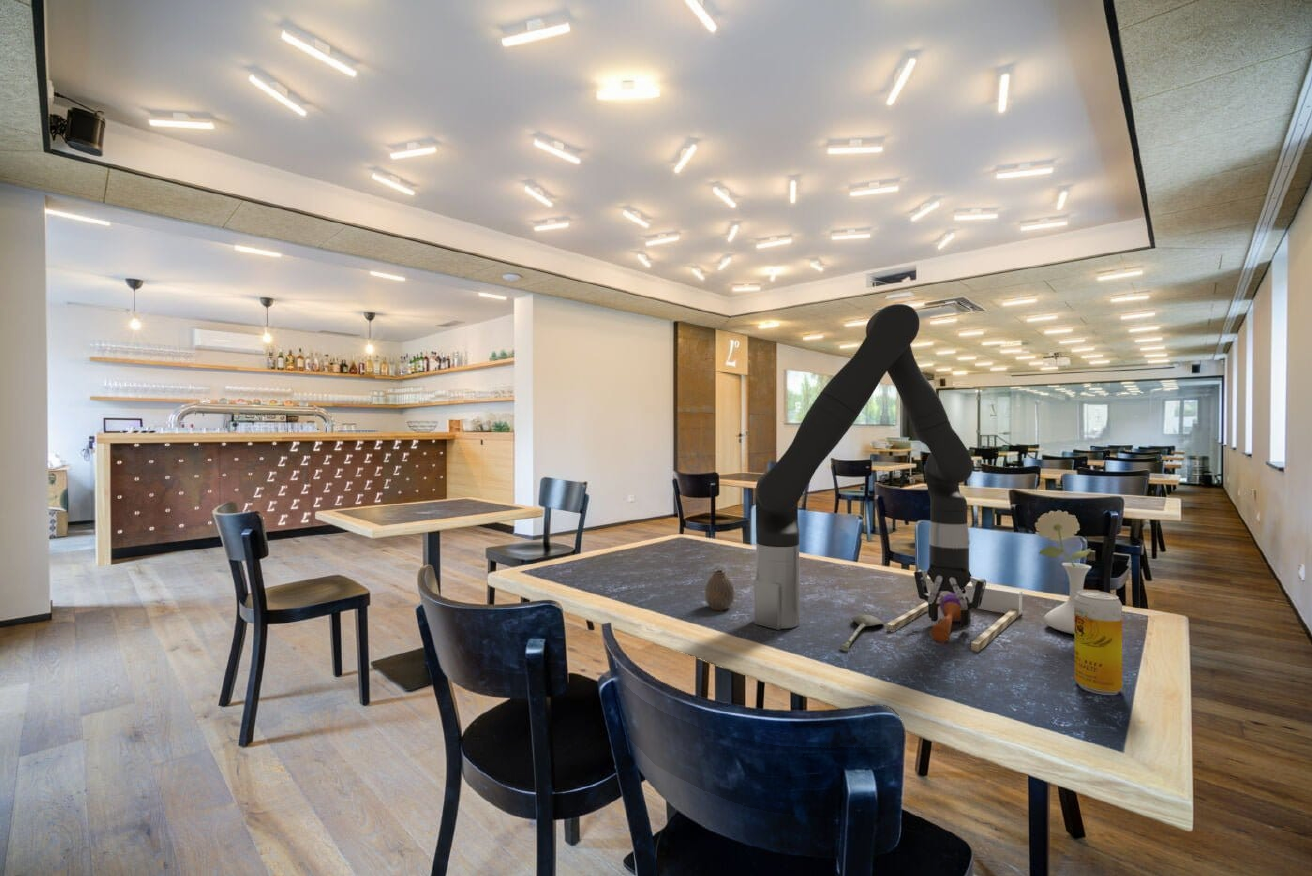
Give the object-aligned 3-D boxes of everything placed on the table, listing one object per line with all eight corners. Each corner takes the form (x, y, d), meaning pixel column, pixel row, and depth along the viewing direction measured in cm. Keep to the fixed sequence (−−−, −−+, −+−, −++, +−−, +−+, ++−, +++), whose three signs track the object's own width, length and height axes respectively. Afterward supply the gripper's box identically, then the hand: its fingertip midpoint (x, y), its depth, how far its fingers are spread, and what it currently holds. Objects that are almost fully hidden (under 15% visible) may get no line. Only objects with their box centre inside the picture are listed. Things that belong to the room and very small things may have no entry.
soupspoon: (887, 628, 125) (856, 624, 129) (887, 612, 125) (856, 609, 129) (861, 656, 107) (826, 650, 111) (860, 637, 107) (825, 632, 111)
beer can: (1065, 681, 95) (1064, 590, 95) (1099, 679, 96) (1099, 589, 96) (1096, 697, 89) (1096, 600, 89) (1132, 695, 89) (1132, 599, 90)
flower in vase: (1114, 631, 120) (1113, 511, 120) (1108, 645, 111) (1108, 516, 112) (1040, 618, 129) (1039, 506, 129) (1029, 630, 120) (1029, 510, 120)
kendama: (920, 618, 115) (940, 590, 131) (927, 648, 115) (946, 616, 131) (952, 618, 112) (969, 589, 128) (959, 649, 112) (975, 616, 128)
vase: (738, 606, 138) (738, 569, 138) (726, 613, 132) (726, 575, 132) (713, 602, 142) (713, 566, 142) (699, 609, 136) (699, 571, 136)
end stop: (1018, 615, 130) (1018, 593, 130) (938, 601, 142) (938, 580, 142) (1022, 612, 132) (1022, 591, 132) (942, 598, 144) (942, 578, 144)
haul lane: (978, 652, 108) (978, 644, 108) (886, 630, 120) (886, 623, 120) (1018, 615, 130) (1018, 609, 130) (938, 601, 142) (938, 594, 142)
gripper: (907, 541, 124) (907, 620, 124) (981, 550, 114) (981, 636, 114) (920, 537, 129) (920, 612, 129) (991, 545, 120) (992, 627, 119)
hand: (949, 623), depth 122 cm, fingers closed on kendama, 5 cm apart
